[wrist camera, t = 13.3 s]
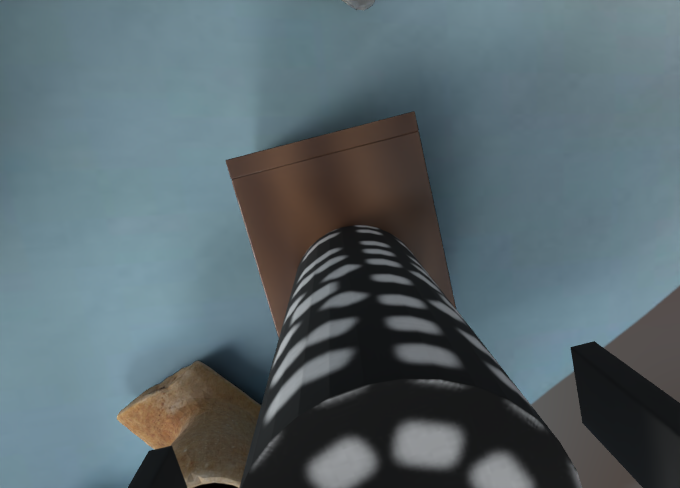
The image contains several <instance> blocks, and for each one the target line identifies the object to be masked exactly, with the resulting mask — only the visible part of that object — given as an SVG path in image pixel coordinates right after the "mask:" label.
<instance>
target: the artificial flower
mask: <svg viewBox="0 0 680 488" xmlns="http://www.w3.org/2000/svg"><path fill="white" fill-rule="evenodd" d="M342 1H344V2H345V3H346V4H348V5H349V6H351V7H352V8H354V9H356V10H366V9H368V8H369V7H371V6H372V5H373V4H374V2H375V0H342Z"/></svg>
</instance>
